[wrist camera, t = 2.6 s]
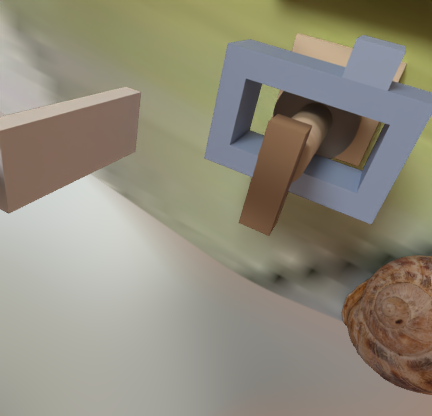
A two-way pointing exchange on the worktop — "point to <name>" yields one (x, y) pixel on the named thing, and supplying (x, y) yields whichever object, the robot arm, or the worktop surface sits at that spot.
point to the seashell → (395, 322)
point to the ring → (331, 95)
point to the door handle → (303, 139)
